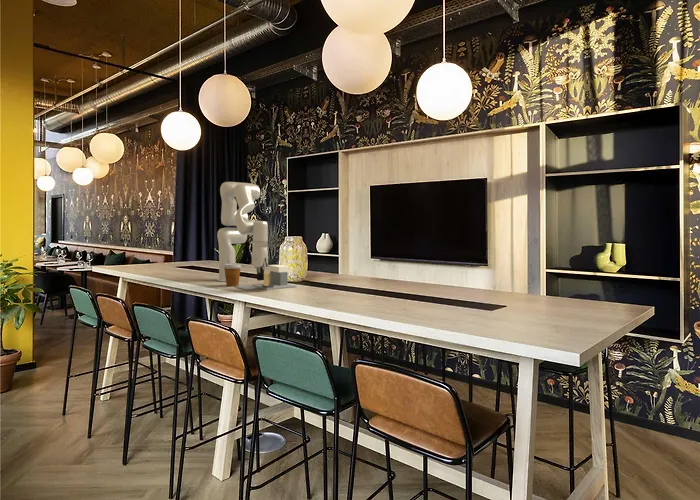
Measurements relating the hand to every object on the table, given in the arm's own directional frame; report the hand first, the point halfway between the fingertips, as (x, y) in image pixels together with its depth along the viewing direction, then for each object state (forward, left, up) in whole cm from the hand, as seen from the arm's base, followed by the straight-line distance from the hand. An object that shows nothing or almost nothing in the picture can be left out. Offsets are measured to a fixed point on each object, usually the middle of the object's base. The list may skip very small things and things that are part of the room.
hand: (260, 280), depth 240 cm
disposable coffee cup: (-23, -5, -5) cm, 24 cm away
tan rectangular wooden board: (0, +4, -3) cm, 5 cm away
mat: (-11, -2, -5) cm, 12 cm away
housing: (-7, +12, -5) cm, 15 cm away
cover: (-10, +16, +3) cm, 20 cm away
